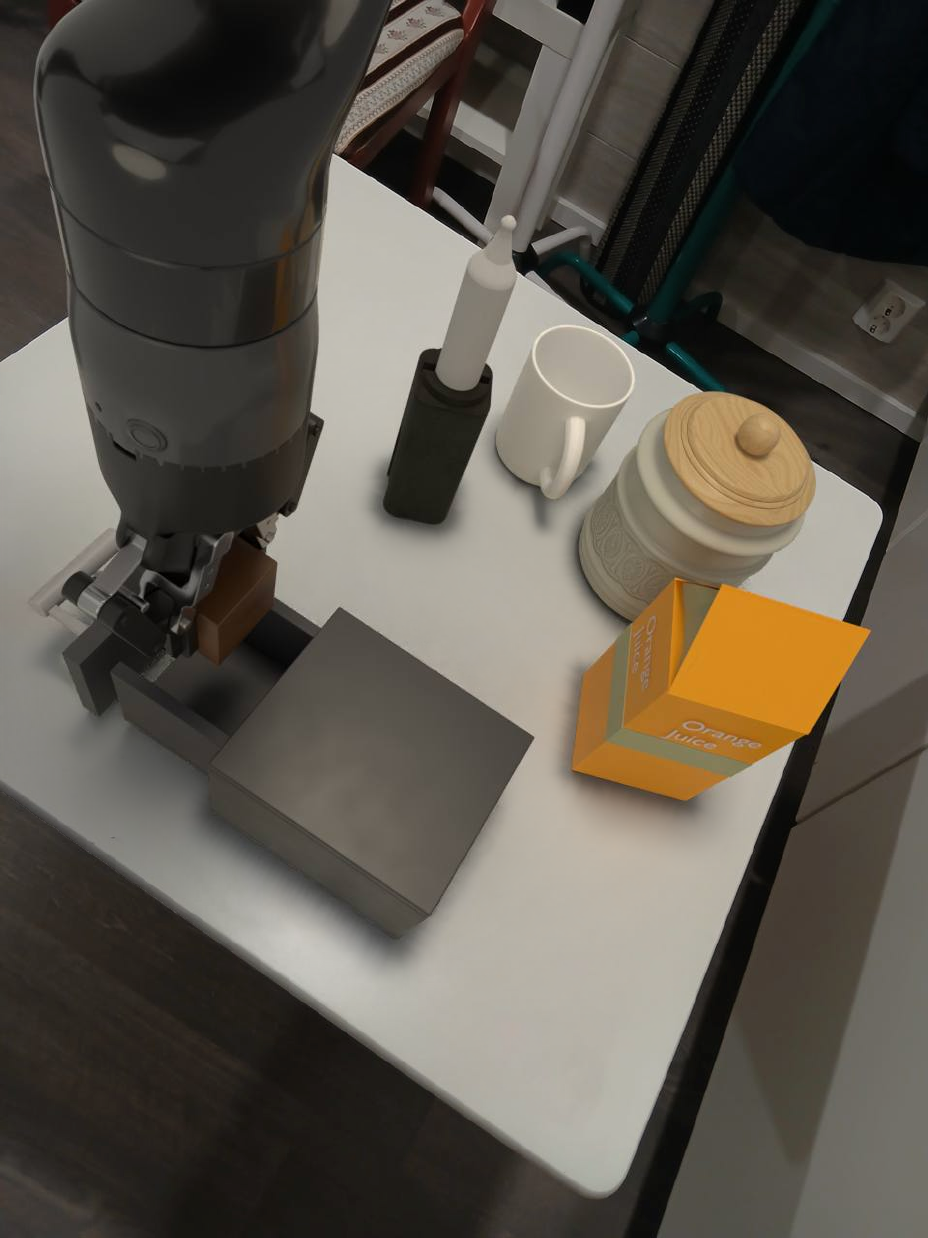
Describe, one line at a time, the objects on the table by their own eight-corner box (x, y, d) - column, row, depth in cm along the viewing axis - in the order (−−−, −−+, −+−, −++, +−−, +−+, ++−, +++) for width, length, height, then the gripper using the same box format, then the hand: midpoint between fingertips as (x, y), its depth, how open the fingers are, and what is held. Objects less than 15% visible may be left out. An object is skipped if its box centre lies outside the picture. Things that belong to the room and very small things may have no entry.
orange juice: (582, 673, 61) (722, 523, 44) (690, 705, 62) (868, 571, 45) (570, 772, 57) (719, 650, 40) (686, 804, 58) (879, 698, 41)
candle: (445, 527, 64) (555, 260, 42) (381, 514, 63) (460, 234, 41) (450, 475, 66) (556, 199, 45) (388, 462, 65) (467, 173, 44)
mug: (585, 536, 67) (640, 457, 58) (488, 516, 65) (529, 432, 56) (583, 425, 73) (633, 338, 64) (494, 405, 71) (532, 313, 62)
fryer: (211, 811, 49) (207, 763, 41) (322, 672, 55) (339, 605, 47) (396, 939, 49) (430, 916, 40) (489, 784, 55) (535, 736, 46)
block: (146, 617, 41) (138, 572, 37) (205, 559, 44) (202, 511, 40) (219, 667, 41) (218, 626, 37) (273, 605, 43) (278, 561, 39)
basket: (18, 662, 50) (-14, 601, 43) (137, 550, 55) (125, 481, 48) (251, 823, 49) (255, 786, 42) (349, 694, 54) (367, 643, 48)
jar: (733, 640, 66) (885, 516, 51) (583, 628, 62) (697, 492, 47) (704, 507, 72) (831, 361, 57) (566, 490, 68) (662, 331, 53)
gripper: (244, 219, 31) (239, 485, 46) (-64, 434, 24) (46, 669, 39) (405, 322, 31) (348, 557, 46) (142, 573, 24) (175, 758, 38)
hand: (210, 608), depth 42 cm, fingers closed on block, 4 cm apart
